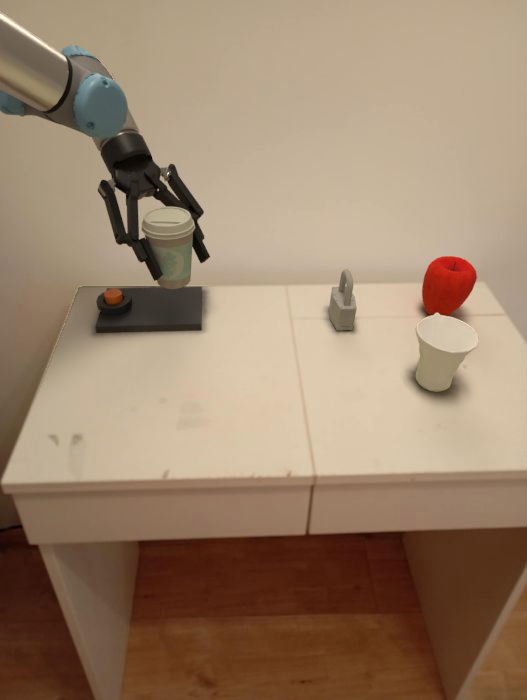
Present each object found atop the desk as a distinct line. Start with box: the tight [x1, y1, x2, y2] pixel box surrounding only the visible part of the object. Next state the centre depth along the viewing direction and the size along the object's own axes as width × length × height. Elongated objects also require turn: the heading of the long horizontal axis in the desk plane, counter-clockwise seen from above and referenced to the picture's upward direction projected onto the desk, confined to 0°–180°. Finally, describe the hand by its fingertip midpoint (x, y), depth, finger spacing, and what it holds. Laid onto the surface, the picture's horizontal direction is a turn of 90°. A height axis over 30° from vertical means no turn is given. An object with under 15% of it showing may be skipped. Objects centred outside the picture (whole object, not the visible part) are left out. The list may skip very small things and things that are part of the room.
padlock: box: [328, 268, 357, 331], centre depth 83 cm, size 7×4×10 cm, turn 5°
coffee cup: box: [141, 206, 195, 289], centre depth 79 cm, size 8×9×12 cm
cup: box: [415, 313, 480, 393], centre depth 72 cm, size 9×9×10 cm
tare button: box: [104, 289, 123, 304], centre depth 84 cm, size 3×3×2 cm
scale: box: [95, 286, 203, 334], centre depth 86 cm, size 18×12×3 cm, turn 95°
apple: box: [421, 255, 478, 317], centre depth 86 cm, size 9×9×11 cm
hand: (182, 268), depth 78 cm, fingers closed on coffee cup, 8 cm apart
